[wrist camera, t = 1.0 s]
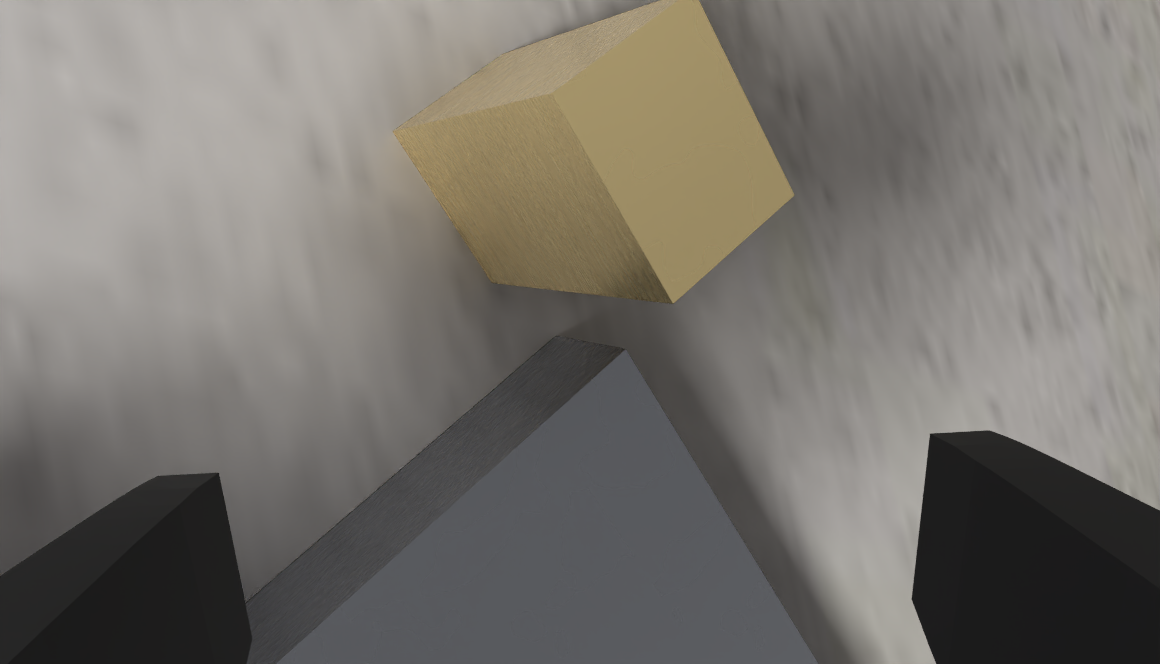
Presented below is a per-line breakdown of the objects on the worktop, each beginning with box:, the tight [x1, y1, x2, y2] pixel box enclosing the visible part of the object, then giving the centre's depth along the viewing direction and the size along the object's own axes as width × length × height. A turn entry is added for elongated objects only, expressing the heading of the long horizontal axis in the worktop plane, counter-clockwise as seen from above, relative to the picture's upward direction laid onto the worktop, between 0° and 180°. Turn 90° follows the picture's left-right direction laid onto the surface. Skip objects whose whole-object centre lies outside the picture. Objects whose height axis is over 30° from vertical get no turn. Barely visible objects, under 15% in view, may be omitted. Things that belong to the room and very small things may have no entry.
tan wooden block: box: [393, 0, 794, 304], centre depth 19 cm, size 3×4×7 cm
